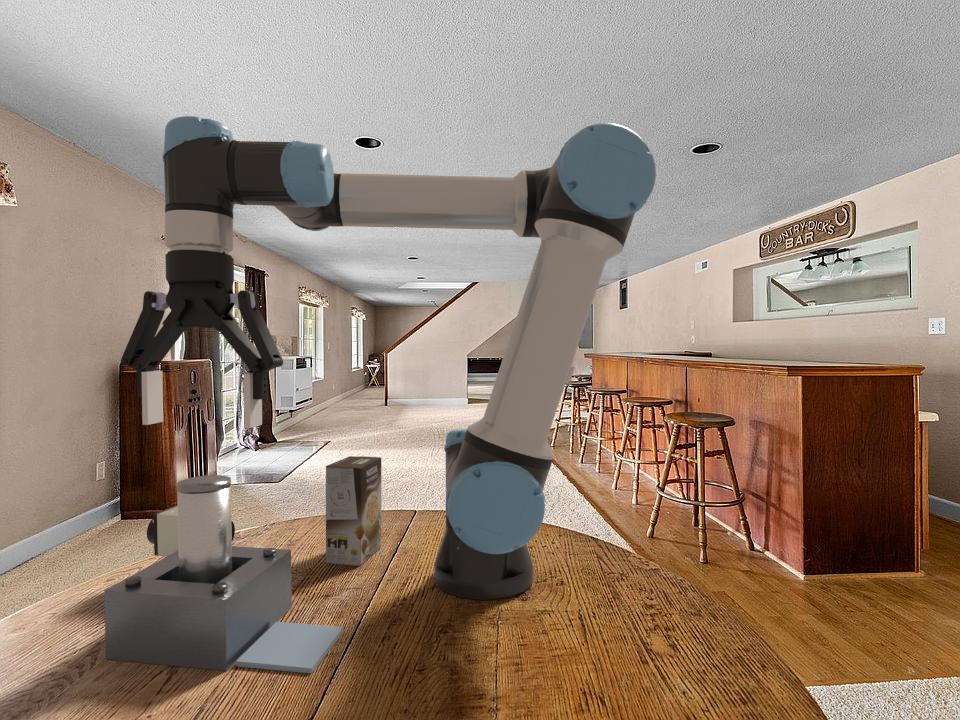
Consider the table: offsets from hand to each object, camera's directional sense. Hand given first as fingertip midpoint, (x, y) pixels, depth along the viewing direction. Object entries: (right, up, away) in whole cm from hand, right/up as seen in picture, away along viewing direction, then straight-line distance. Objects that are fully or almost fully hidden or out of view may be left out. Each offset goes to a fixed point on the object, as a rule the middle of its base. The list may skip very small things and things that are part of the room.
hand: (202, 425), depth 70 cm
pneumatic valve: (-9, -26, +15) cm, 31 cm away
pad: (+12, -26, -3) cm, 29 cm away
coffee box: (+13, -25, +26) cm, 39 cm away
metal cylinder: (0, -24, +1) cm, 24 cm away
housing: (0, -26, +1) cm, 26 cm away
